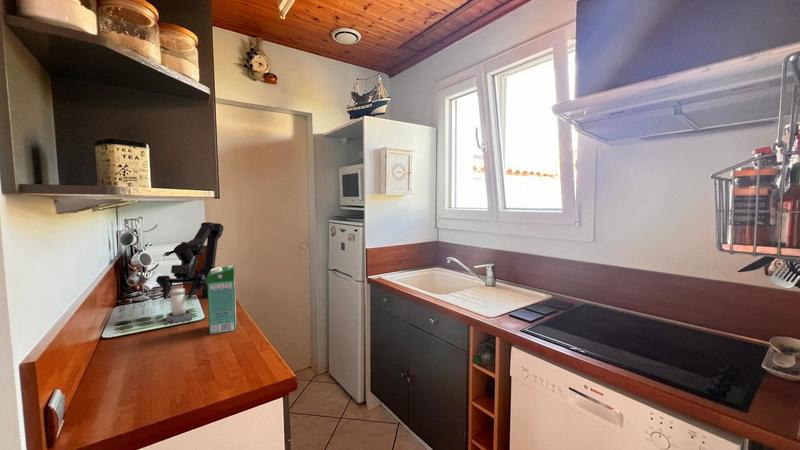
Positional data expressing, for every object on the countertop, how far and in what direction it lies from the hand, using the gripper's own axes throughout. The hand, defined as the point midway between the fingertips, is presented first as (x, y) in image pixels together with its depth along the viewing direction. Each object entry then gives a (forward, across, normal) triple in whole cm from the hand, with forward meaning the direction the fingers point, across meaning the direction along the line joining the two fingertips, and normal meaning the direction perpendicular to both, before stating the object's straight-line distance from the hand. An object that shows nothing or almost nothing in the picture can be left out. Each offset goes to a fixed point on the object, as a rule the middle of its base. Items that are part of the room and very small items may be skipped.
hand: (176, 298), depth 137 cm
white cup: (+5, 0, +7) cm, 9 cm away
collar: (+6, 0, +8) cm, 10 cm away
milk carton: (+15, +22, -1) cm, 26 cm away
